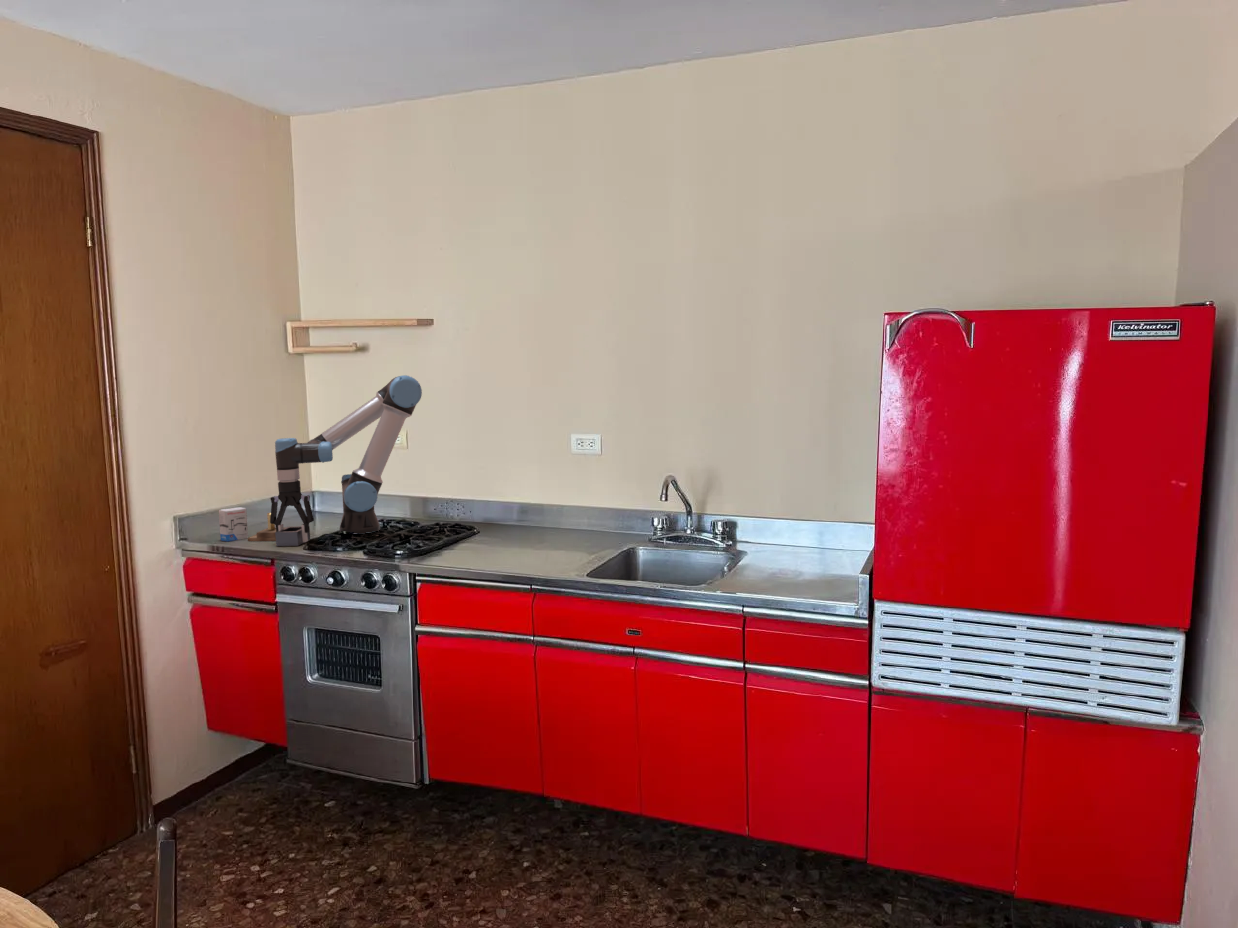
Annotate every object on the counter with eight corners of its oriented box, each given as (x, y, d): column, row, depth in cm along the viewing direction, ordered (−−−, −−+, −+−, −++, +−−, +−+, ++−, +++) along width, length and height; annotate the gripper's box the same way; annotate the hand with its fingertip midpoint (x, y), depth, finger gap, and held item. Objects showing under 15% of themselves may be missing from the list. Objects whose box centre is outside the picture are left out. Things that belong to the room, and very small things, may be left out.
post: (276, 529, 311) (275, 512, 311) (272, 530, 308) (271, 513, 308) (269, 529, 311) (268, 512, 311) (266, 530, 309) (265, 513, 308)
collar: (310, 539, 305) (309, 526, 305) (298, 545, 294) (297, 531, 294) (289, 539, 305) (288, 526, 305) (276, 546, 295) (275, 532, 294)
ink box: (226, 542, 305) (224, 510, 304) (220, 540, 308) (217, 509, 307) (248, 538, 312) (246, 507, 311) (242, 536, 315) (240, 506, 314)
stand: (295, 535, 315) (295, 527, 315) (284, 540, 305) (284, 532, 305) (260, 535, 316) (259, 527, 315) (247, 541, 306) (247, 532, 305)
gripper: (321, 478, 301) (325, 539, 303) (265, 480, 301) (270, 540, 304) (313, 481, 293) (317, 543, 296) (255, 482, 294) (261, 544, 296)
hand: (293, 541), depth 300 cm, fingers closed on collar, 8 cm apart
